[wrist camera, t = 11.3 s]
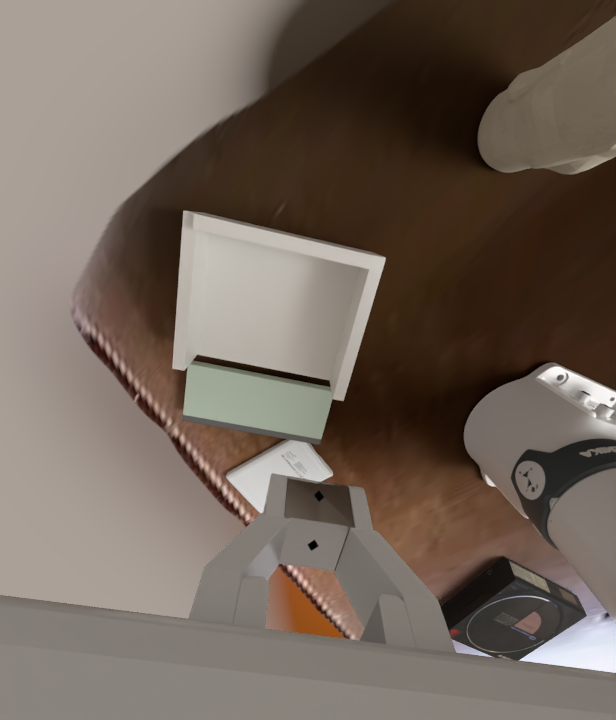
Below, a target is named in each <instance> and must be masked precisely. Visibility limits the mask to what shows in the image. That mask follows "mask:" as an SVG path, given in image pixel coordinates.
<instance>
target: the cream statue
mask: <svg viewBox="0 0 616 720" xmlns="http://www.w3.org/2000/svg"><path fill="white" fill-rule="evenodd" d="M478 148H479V151H480V154H481V156H482V158H483V160H484V161H485V162H486V163H487V164H488V165H489V166H490V167H492V168H494V169H495V170H498V171H500V172H508V173H510V172H516V171H520V170H524V169H528V168H535V169H537V168H547V169H550V170H553V171H556V172H558V173H561V174H576V173H579V172H582V171H585V170H588V169H590V168H593V167H595V166H597V165H599V164H601V163H603V162H605V161H607V160H609V159H611V158H613V157H616V16H615V17H614V18H612V19H611V20H609V21H608V22H607V23H605V24H604V25H602V26H601V27H600V28H598V29H597V30H595V31H594V32H593V33H591V34H590V35H589V36H587V37H586V38H584V39H583V40H581V41H580V42H578V43H577V44H575V45H574V46H572V47H571V48H569V49H567V50H566V51H564V52H563V53H561V54H560V55H558V56H557V57H555V58H553V59H552V60H550V61H549V62H547V63H546V64H544V65H543V66H541V67H539V68H536V69H532V70H529V71H526V72H524V73H521V74H519V75H518V76H517V77H516V78H515V79H514V80H513V82H512V83H511V84H510V85H509V86H508V89H507V90H505V91H503V92H502V93H500V94H499V95H498V96H496V97H495V98H494V99H493V101H492V102H491V103H490V105H489V106H488V108H487V109H486V111H485V113H484V115H483V117H482V120H481V122H480V126H479V130H478Z"/></svg>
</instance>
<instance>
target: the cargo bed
mask: <svg viewBox="0 0 616 720" xmlns="http://www.w3.org/2000/svg"><path fill="white" fill-rule="evenodd" d="M385 260H386V258H385V257H383V256H380V255H378V254H376V253H374V252H370V251H365V250H361V249H357V248H352V247H348V246H344V245H340V244H335V243H331V242H327V241H323V240H318V239H314V238H310V237H306V236H301V235H297V234H293V233H288V232H284V231H280V230H276V229H271V228H267V227H263V226H259V225H254V224H250V223H246V222H242V221H237V220H233V219H229V218H225V217H220V216H216V215H212V214H207V213H203V212H193V211H183V223H182V237H181V251H180V266H179V280H178V294H177V308H176V323H175V337H174V351H173V365H172V369H177V370H182V371H184V370H185V369H186V368H187V367H188V366H189V364H190V363H191V362H192V361H193V359H194V358H195V357H196V356H197V355H202V356H207V357H212V358H217V359H222V360H228V361H233V362H238V363H243V364H248V365H253V366H258V367H263V368H268V369H274V370H279V371H284V372H289V373H294V374H299V375H304V376H309V377H314V378H319V379H325V380H330V386H331V392H332V399H334V400H340V401H344V398H345V394H346V391H347V388H348V384H349V381H350V378H351V374H352V371H353V368H354V364H355V361H356V358H357V354H358V351H359V347H360V344H361V341H362V337H363V334H364V331H365V327H366V324H367V321H368V317H369V314H370V311H371V307H372V304H373V300H374V297H375V294H376V290H377V287H378V284H379V280H380V277H381V274H382V270H383V267H384V263H385Z"/></svg>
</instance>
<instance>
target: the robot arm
mask: <svg viewBox="0 0 616 720" xmlns="http://www.w3.org/2000/svg"><path fill="white" fill-rule="evenodd" d="M558 375H559V377H558V378H557V376H558ZM464 443H465V447H466V450H467V452H468V453H469V455H470V456H471V458H472V459H473V460H474V461H475V462H476V463H477V464H478V465H479V467H480V470H481V475H482V477H483V479H484V481H485V482H486V483H487V484H488V485H490V486H496V487H497V488H498V489H499V490H500V491H501V492H502V494H503V495H504V496H505V497H506V498H507V499H508V500H509V501H510V503H511V504H512V505H513V506H514V507H515V508H516V509H517V510H518V511H519V513H520V514H521V515H523V516H524V517H526V518H529V519H530V521H531V522H532V523H533V524H532V525H533V526H534V527H535V529H536V530H537V531H538V532H539V534H540V535H541V536H543V537H544V538H545V539H546V541H547V542H548V543H549V544H550V545H551V546H553V547H554V548H556V549H557V550H559V551H560V552H561V553H562V554H563V556H564V557H565V558H566V559H567V561H568V562H569V563H570V565H571V566H572V567H573V568H574V570H575V571H576V572H577V574H578V575H579V576H580V577H581V579H582V580H583V581H584V583H585V584H586V585H587V586H588V588H589V589H590V590H591V592H592V593H593V594H594V596H595V597H596V598H597V599H598V601H599V602H600V603H601V605H602V606H603V607H604V608H605V610H606V611H607V612H608V614H609V615H610V616H611V617H612V619H613V620H614V621H615V622H616V391H615V390H613V389H611V388H609V387H607V386H604V385H602V384H600V383H598V382H596V381H593V380H591V379H589V378H587V377H585V376H582V375H580V374H578V373H576V372H574V371H571V370H569V369H567V368H565V367H563V366H561V365H558V364H556V363H552V362H551V363H546V364H544V365H542V366H541V367H539V368H538V369H536V370H535V371H533V372H532V373H531V374H529V375H528V376H526V377H524V378H521V379H519V380H515V381H512V382H509V383H507V384H505V385H502V386H500V387H498V388H497V389H495V390H493V391H492V392H490V393H489V394H488V395H486V396H485V397H484V398H483V399H482V400H481V401H480V402H479V403H478V404H477V405H476V406H475V408H474V409H473V410H472V412H471V414H470V415H469V417H468V420H467V422H466V425H465V429H464ZM278 564H285V565H294V566H303V567H310V568H316V569H321V570H327V571H333V572H335V575H336V577H337V579H338V581H339V583H340V584H341V586H342V588H343V590H344V592H345V593H346V595H347V597H348V599H349V601H350V603H351V604H352V606H353V608H354V610H355V612H356V613H357V615H358V617H359V619H360V621H361V623H362V624H363V626H364V628H365V630H364V632H363V634H362V636H361V639H360V641H358V640H350V639H342V638H334V637H326V636H319V635H310V634H303V633H294V632H287V631H279V630H272V629H265V621H266V611H267V601H268V591H269V583H268V581H267V580H268V579H269V578H270V576H271V575H272V573H273V572H274V571H275V569H276V568H277V566H278ZM0 720H616V673H612V672H604V671H596V670H588V669H580V668H572V667H564V666H556V665H549V664H541V663H533V662H525V661H517V660H509V659H501V658H493V657H486V656H478V655H470V654H462V653H456V651H455V648H454V645H453V642H452V640H451V637H450V634H449V631H448V628H447V625H446V622H445V619H444V616H443V613H442V610H441V607H440V604H439V602H438V600H437V599H436V597H435V596H434V595H433V594H432V593H431V592H430V591H429V589H428V588H427V587H426V586H425V585H424V584H423V583H422V581H421V580H420V579H419V578H418V577H417V576H416V574H415V573H414V572H413V571H412V570H411V569H410V568H409V566H408V565H407V564H406V563H405V562H404V561H403V560H402V558H401V557H400V556H399V555H398V554H397V553H396V552H395V550H394V549H393V548H392V547H391V546H390V545H389V544H388V542H387V541H386V540H385V539H384V538H383V537H382V536H381V534H380V533H379V532H377V531H373V526H372V522H371V517H370V513H369V508H368V503H367V499H366V494H365V490H364V489H363V488H361V487H354V486H345V485H339V484H332V483H326V482H319V481H313V480H308V479H303V478H297V477H292V476H285V475H280V474H274V473H272V474H271V477H270V482H269V486H268V491H267V496H266V501H265V506H264V511H263V514H260V515H258V516H257V517H256V518H255V519H254V520H253V521H252V522H251V523H250V524H249V525H248V526H247V527H246V528H245V529H244V530H243V531H242V532H241V533H240V534H239V535H238V536H237V537H236V538H234V539H233V540H232V541H231V542H230V543H229V544H228V545H227V546H226V547H225V548H224V549H223V550H222V551H221V552H220V553H219V554H218V555H217V556H216V557H215V558H214V559H213V560H211V561H210V562H209V563H208V564H207V565H206V566H205V567H204V570H203V573H202V577H201V580H200V584H199V586H198V590H197V593H196V596H195V599H194V603H193V606H192V609H191V612H190V615H189V619H185V618H177V617H169V616H161V615H153V614H145V613H138V612H129V611H121V610H113V609H106V608H98V607H90V606H82V605H74V604H67V603H58V602H51V601H43V600H35V599H27V598H19V597H11V596H3V595H0Z"/></svg>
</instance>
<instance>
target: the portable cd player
mask: <svg viewBox="0 0 616 720" xmlns="http://www.w3.org/2000/svg"><path fill="white" fill-rule="evenodd" d="M441 610H442V613H443V616H444V619H445V622H446V625H447V628H448V631H449V634H450V637H451V639H453V640H455V641H457V642H460V643H462V644H464V645H467V646H469V647H471V648H474V649H476V650H478V651H481V652H483V653H485V654H488V655H490V656H492V657H495V658H501V659H509V660H517V661H518V660H520V659H521V658H523V657H524V656H526V655H527V654H529V653H531V652H532V651H534V650H535V649H537V648H538V647H540V646H541V645H543V644H544V643H546V642H547V641H549V640H551V639H552V638H554V637H555V636H557V635H558V634H560V633H561V632H563V631H564V630H566V629H567V628H569V627H571V626H572V625H574V624H575V623H577V622H578V621H580V620H581V619H583V618H584V617H586V616H587V615H586V613H585V611H584V609H583V607H582V605H581V603H580V601H579V599H578V597H577V596H576V595H575V594H573V593H572V592H570V591H568V590H566V589H564V588H562V587H560V586H558V585H556V584H554V583H553V582H551V581H549V580H547V579H545V578H543V577H541V576H539V575H537V574H535V573H533V572H532V571H530V570H528V569H526V568H524V567H522V566H520V565H518V564H516V563H514V562H513V561H511V560H509V559H507V558H505V557H503V558H502V559H501V560H499V561H498V562H497V563H496V564H494V565H493V566H492V567H491V568H489V569H488V570H487V571H486V572H484V573H483V574H482V575H481V576H479V577H478V578H477V579H476V580H474V581H473V582H472V583H471V584H469V585H468V586H467V587H466V588H464V589H463V590H462V591H461V592H459V593H458V594H457V595H456V596H454V597H453V598H452V599H451V600H449V601H448V602H447V603H446V604H444V605H443V606H442V607H441Z"/></svg>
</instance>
